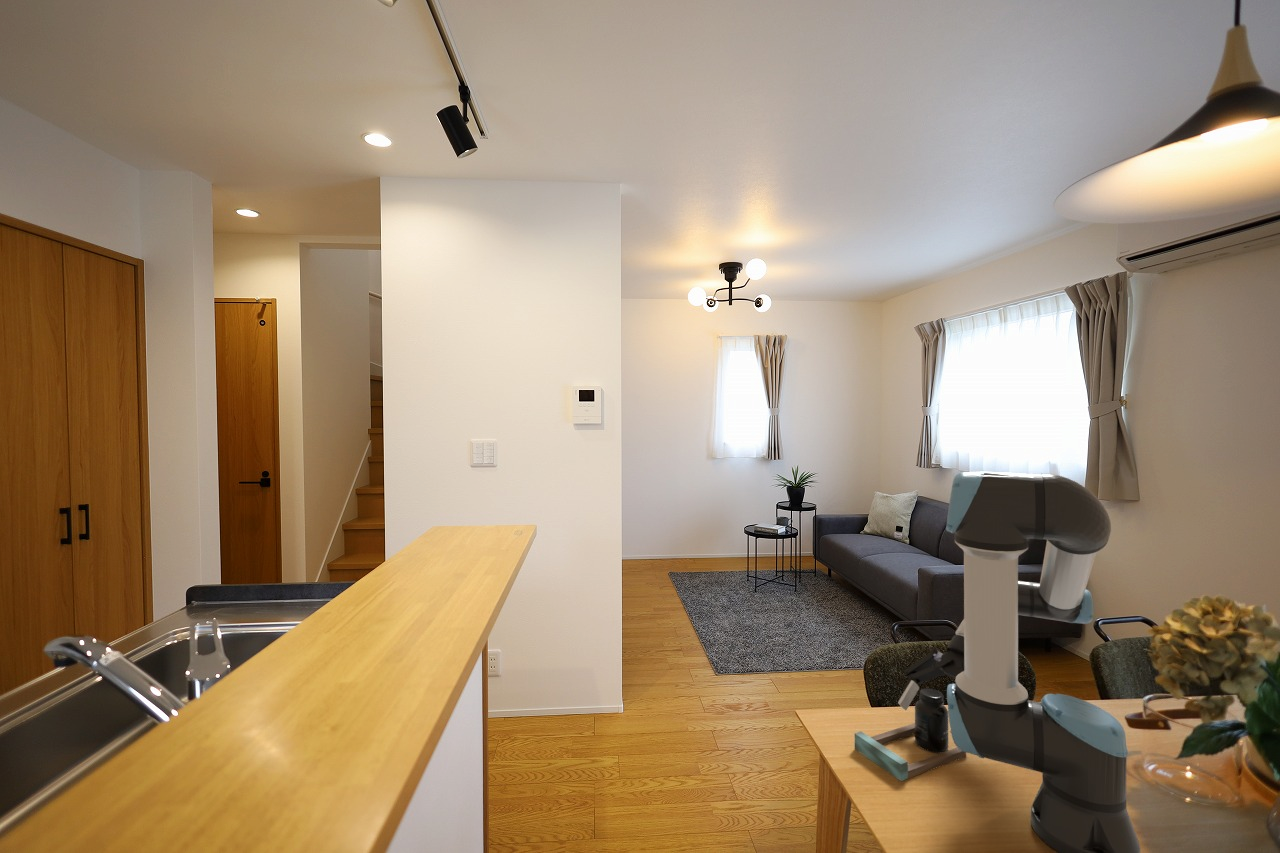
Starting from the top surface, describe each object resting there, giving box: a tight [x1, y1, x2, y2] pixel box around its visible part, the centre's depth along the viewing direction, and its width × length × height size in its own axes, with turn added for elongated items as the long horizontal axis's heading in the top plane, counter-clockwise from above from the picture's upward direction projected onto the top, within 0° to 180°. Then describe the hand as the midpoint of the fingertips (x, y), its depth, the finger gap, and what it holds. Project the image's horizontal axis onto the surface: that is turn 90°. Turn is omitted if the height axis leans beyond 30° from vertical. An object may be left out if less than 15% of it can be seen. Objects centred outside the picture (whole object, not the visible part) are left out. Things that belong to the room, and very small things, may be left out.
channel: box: [854, 722, 967, 782], centre depth 124 cm, size 12×20×4 cm, turn 114°
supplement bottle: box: [914, 687, 949, 754], centre depth 127 cm, size 7×7×12 cm
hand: (926, 720), depth 127 cm, fingers open, 13 cm apart
